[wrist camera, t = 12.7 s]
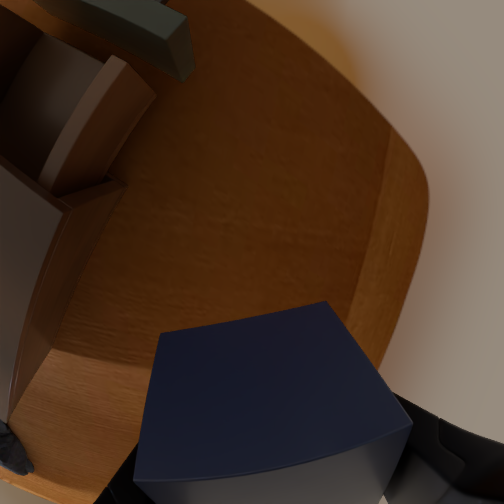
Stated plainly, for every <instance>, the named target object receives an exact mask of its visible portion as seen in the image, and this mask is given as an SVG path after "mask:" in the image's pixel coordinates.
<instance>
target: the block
mask: <svg viewBox="0 0 504 504" xmlns="http://www.w3.org/2000/svg"><path fill="white" fill-rule="evenodd" d="M412 426H413V422H412V420H411V419H410V417H409V416H408V414H407V413H406V411H405V410H404V409H403V407H402V406H401V404H400V403H399V401H398V400H397V398H396V397H395V396H394V394H393V393H392V391H391V390H390V388H389V387H388V386H387V384H386V383H385V381H384V380H383V379H382V377H381V376H380V374H379V373H378V371H377V370H376V369H375V367H374V366H373V364H372V363H371V362H370V360H369V359H368V357H367V356H366V355H365V353H364V352H363V350H362V349H361V348H360V346H359V345H358V344H357V342H356V341H355V339H354V338H353V337H352V335H351V334H350V332H349V331H348V330H347V328H346V327H345V326H344V324H343V323H342V322H341V320H340V319H339V318H338V316H337V315H336V313H335V312H334V311H333V309H332V308H331V307H330V305H329V304H328V303H327V301H323V302H319V303H314V304H310V305H306V306H301V307H297V308H292V309H288V310H283V311H279V312H274V313H269V314H264V315H259V316H254V317H249V318H244V319H239V320H234V321H229V322H223V323H218V324H212V325H207V326H201V327H195V328H189V329H183V330H177V331H171V332H164V333H160V337H159V341H158V345H157V350H156V354H155V359H154V363H153V368H152V373H151V378H150V383H149V388H148V393H147V398H146V403H145V408H144V414H143V419H142V425H141V431H140V437H139V443H138V449H137V456H136V463H135V470H134V477H133V481H134V482H135V484H136V485H137V486H138V487H139V488H140V489H141V490H142V491H143V492H144V493H145V494H146V495H147V496H148V497H149V498H151V499H152V500H153V501H154V502H155V503H156V504H378V503H379V501H380V499H381V498H382V496H383V494H384V492H385V490H386V488H387V486H388V483H389V481H390V479H391V477H392V475H393V473H394V471H395V468H396V466H397V464H398V462H399V459H400V457H401V454H402V452H403V450H404V447H405V445H406V442H407V439H408V437H409V434H410V431H411V429H412Z"/></svg>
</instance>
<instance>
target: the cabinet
mask: <svg viewBox="0 0 504 504" xmlns="http://www.w3.org/2000/svg"><path fill="white" fill-rule="evenodd" d="M127 187H128V185H126V184H125V183H123V182H122V181H120V180H119V179H117V178H116V177H114V176H113V175H111V174H110V173H108V172H106V174H105V176H104V178H103V179H102V181H101V183H100V185H97V186H93V187H90V188H87V189H84V190H81V191H78V192H75V193H72V194H69V195H66V196H63V197H60V198H56V197H55V196H53V195H52V194H51V193H49V192H48V191H47V190H45V189H44V188H43V187H41V186H40V185H39V184H37V183H36V182H35V181H33V180H32V179H31V178H29V177H28V176H27V175H26V174H24V173H23V172H22V171H20V170H19V169H18V168H16V167H15V166H14V165H13V164H11V163H10V162H9V161H8V160H6V159H5V158H4V157H3V156H1V155H0V419H1V420H2V421H3V422H5V423H7V422H8V420H9V418H10V416H11V414H12V412H13V410H14V409H15V407H16V405H17V403H18V402H19V400H20V398H21V396H22V395H23V393H24V391H25V390H26V388H27V386H28V385H29V383H30V381H31V380H32V378H33V376H34V375H35V373H36V372H37V370H38V369H39V367H40V365H41V364H42V362H43V361H44V359H45V358H46V356H47V354H48V353H49V352H50V350H51V348H52V345H53V343H54V340H55V337H56V334H57V332H58V329H59V326H60V324H61V321H62V318H63V316H64V313H65V311H66V308H67V306H68V304H69V301H70V299H71V296H72V294H73V292H74V290H75V287H76V285H77V283H78V281H79V278H80V276H81V274H82V272H83V270H84V267H85V265H86V263H87V261H88V259H89V257H90V255H91V253H92V251H93V249H94V247H95V245H96V243H97V241H98V239H99V237H100V235H101V233H102V231H103V229H104V228H105V226H106V224H107V222H108V220H109V218H110V216H111V215H112V213H113V211H114V209H115V207H116V206H117V204H118V202H119V200H120V199H121V197H122V195H123V194H124V192H125V190H126V189H127Z"/></svg>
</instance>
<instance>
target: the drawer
mask: <svg viewBox="0 0 504 504" xmlns="http://www.w3.org/2000/svg"><path fill="white" fill-rule="evenodd" d="M33 1H34V2H36V3H37V4H38V5H39V6H41V7H42V8H43V9H44V10H46V11H47V12H48V13H50V14H51V15H52V16H55V17H57V18H60V19H62V20H64V21H66V22H69V23H71V24H73V25H75V26H78V27H80V28H82V29H84V30H86V31H88V32H90V33H92V34H94V35H97V36H99V37H101V38H103V39H105V40H107V41H109V42H110V43H112V44H114V45H116V46H118V47H120V48H122V49H124V50H126V51H128V52H129V53H131V54H133V55H135V56H137V57H139V58H140V59H142V60H144V61H146V62H148V63H149V64H151V65H153V66H154V67H156V68H158V69H160V70H161V71H163V72H165V73H166V74H168V75H170V76H171V77H173V78H175V79H176V80H178V81H180V82H181V83H183V82H184V81H185V80H186V79H187V78H188V76H189V75H190V74H191V73H192V71H193V70H194V69H195V61H194V55H193V49H192V43H191V37H190V30H189V24H188V18H187V16H185V15H183V14H181V13H179V12H177V11H175V10H173V9H171V8H169V7H167V6H165V4H166V3H167V2H168V1H169V0H33ZM156 96H157V95H156V93H155V92H154V91H153V90H152V89H151V88H150V86H149V85H148V84H147V83H146V82H145V81H144V80H143V79H142V78H141V77H140V76H139V74H138V73H137V72H136V71H135V70H134V69H133V68H132V67H131V66H130V65H129V64H128V62H126V61H124V60H122V59H121V58H119V57H117V56H115V55H112V56H111V57H110V58H109V59H108V61H107V62H106V63H104V62H102V61H100V60H98V59H96V58H95V57H93V56H91V55H89V54H87V53H85V52H83V51H81V50H79V49H77V48H75V47H74V46H72V45H70V44H68V43H66V42H64V41H62V40H60V39H57V38H55V37H53V36H51V35H49V34H47V33H45V32H43V31H42V30H40V29H39V28H37V27H36V26H34V25H33V24H31V23H29V22H28V21H26V20H25V19H23V18H22V17H20V16H18V15H17V14H15V13H14V12H12V11H10V10H9V9H7V8H5V7H4V6H2V5H0V155H1V156H3V157H4V158H5V159H6V160H8V161H9V162H10V163H11V164H13V165H14V166H15V167H16V168H18V169H19V170H20V171H22V172H23V173H24V174H26V175H27V176H28V177H29V178H31V179H32V180H33V181H35V182H36V183H37V184H39V185H40V186H41V187H43V188H44V189H45V190H47V191H48V192H49V193H51V194H52V195H53V196H55V197H56V198H60V197H63V196H66V195H69V194H72V193H75V192H78V191H81V190H84V189H87V188H90V187H93V186H97V185H100V183H101V181H102V179H103V178H104V176H105V174H106V172H107V171H108V169H109V167H110V165H111V164H112V162H113V160H114V159H115V157H116V155H117V154H118V152H119V151H120V149H121V147H122V146H123V144H124V143H125V141H126V140H127V138H128V136H129V135H130V133H131V132H132V130H133V129H134V127H135V126H136V124H137V123H138V121H139V120H140V119H141V117H142V116H143V114H144V113H145V111H146V110H147V109H148V107H149V106H150V104H151V103H152V102H153V100H154V99H155V98H156Z"/></svg>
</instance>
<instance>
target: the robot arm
mask: <svg viewBox="0 0 504 504" xmlns="http://www.w3.org/2000/svg"><path fill="white" fill-rule="evenodd" d="M392 393H393V394H394V396H395V397H396V398H397V400H398V401H399V403H400V404H401V406H402V407H403V409H404V410H405V411H406V413H407V414H408V416H409V417H410V419H411V420H412V422H413V426H412V429H411V431H410V434H409V437H408V439H407V442H406V445H405V447H404V450H403V452H402V454H401V457H400V459H399V462H398V464H397V466H396V468H395V471H394V473H393V475H392V477H391V479H390V481H389V483H388V486H387V488H386V490H385V492H384V494H383V495H384V496H385V498H386V500H387V502H388V504H504V444H503V443H500V442H497V441H494V440H491V439H488V438H485V437H482V436H479V435H476V434H474V433H471V432H468V431H466V430H464V429H461V428H459V427H457V426H455V425H453V424H451V423H449V422H447V421H445V420H443V419H441V418H440V419H439V418H438V417H437V416H435V415H434V414H432V413H430V412H428V411H426V410H424V409H422V408H421V407H419V406H417V405H415V404H413V403H411V402H410V401H408V400H406V399H404V398H402V397H400V396H399V395H397V394H395V393H394V392H392ZM138 443H139V442H138ZM138 443H137V445H136V446H135V447H134V449H133V450H132V452H131V453H130V454H129V456H128V457H127V459H126V460H125V461H124V463H123V464H122V465H121V467H120V468H119V470H118V471H117V472H116V474H115V475H114V477H113V478H112V479H111V481H110V482H109V483H108V485H107V486H108V487H105V489H104V490H103V491H102V493H101V494H100V496H99V497H98V498H97V499H96V501H95V502H94V503H93V504H156V503H155V502H154V501H153V500H152V499H151V498H149V497H148V496H147V495H146V494H145V493H144V492H143V491H142V490H141V489H140V488H139V487H138V486H137V485H136V484H135V482H134V481H133V477H134V470H135V463H136V456H137V449H138Z"/></svg>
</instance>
